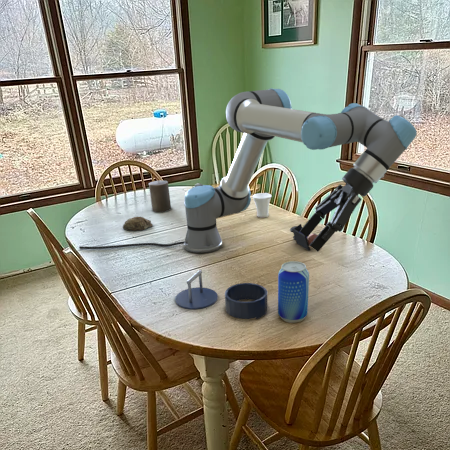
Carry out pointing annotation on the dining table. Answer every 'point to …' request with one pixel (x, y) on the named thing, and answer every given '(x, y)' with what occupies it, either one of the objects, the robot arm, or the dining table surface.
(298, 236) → the character figurine
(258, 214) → the cup
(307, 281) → the beer can
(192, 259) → the dining table surface
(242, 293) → the pot
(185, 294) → the lid
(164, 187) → the pillar candle
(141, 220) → the bread roll
